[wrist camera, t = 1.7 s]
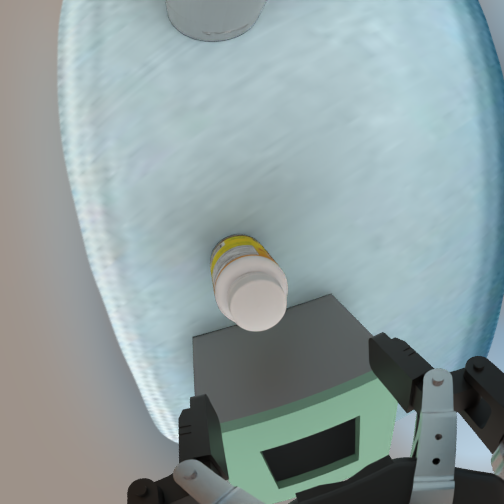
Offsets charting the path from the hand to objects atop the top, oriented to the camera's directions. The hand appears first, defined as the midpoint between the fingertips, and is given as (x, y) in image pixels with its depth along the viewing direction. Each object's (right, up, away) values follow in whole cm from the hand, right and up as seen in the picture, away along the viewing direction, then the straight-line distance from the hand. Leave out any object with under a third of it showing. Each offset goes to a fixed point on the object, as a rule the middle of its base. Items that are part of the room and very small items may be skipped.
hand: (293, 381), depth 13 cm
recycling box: (+1, -8, +22) cm, 23 cm away
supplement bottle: (-3, +5, +17) cm, 18 cm away
